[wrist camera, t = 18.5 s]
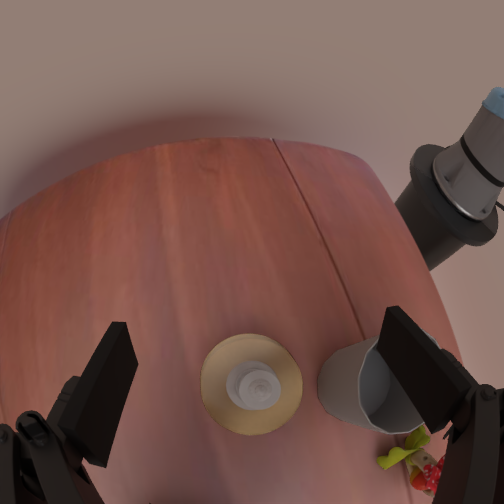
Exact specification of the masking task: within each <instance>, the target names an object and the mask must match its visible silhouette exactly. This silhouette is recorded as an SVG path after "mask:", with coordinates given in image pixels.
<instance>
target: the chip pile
mask: <svg viewBox="0 0 504 504" xmlns="http://www.w3.org/2000/svg"><path fill="white" fill-rule="evenodd" d="M246 361H259V362H262V363H264V364H267V365H268V366H269V367H270V368H272V370H273V371H274V372H275V373H276V376H277V378H278V380H279V383H280V385H281V393H280V397H279V399H278V400H277V402H276V403H275V404H274V405H272V406H271V407H269V408H266V409H261V410H246V409H243V408H241V407H238V406H237V405H236V404H235V403H233V401H232V400H231V399H230V397H229V395H228V393H227V389H226V382H227V377H228V375H229V373H230V372H231V370H232V369H233V368H234V367H235V366H237V365H238V364H240V363H243V362H246ZM200 390H201V397H202V401H203V403H204V406H205V408H206V410H207V412H208V413H209V414H210V416H211V417H212V418H213V419H214V420H215V421H216V422H217V423H218V424H220V425H221V426H222V427H224V428H226V429H228V430H230V431H232V432H235V433H238V434H244V435H260V434H265V433H268V432H271V431H274V430H276V429H277V428H279V427H281V426H282V425H284V424H285V423H286V422H287V421H288V420H289V419H290V418H291V417H292V416H293V415H294V413H295V412H296V410H297V408H298V406H299V404H300V401H301V398H302V393H303V380H302V375H301V372H300V369H299V367H298V365H297V363H296V362H295V360H294V359H293V358H292V356H291V355H290V353H289V352H288V351H287V350H286V349H285V348H284V347H283V346H282V345H281V344H280V343H278V342H277V341H275V340H273V339H271V338H269V337H267V336H263V335H259V334H249V333H248V334H239V335H235V336H232V337H229V338H227V339H225V340H223V341H222V342H220V343H219V344H218V345H216V346H215V347H214V348H213V349H212V350H211V351H210V353H209V354H208V356H207V357H206V359H205V361H204V363H203V366H202V369H201V374H200Z"/></svg>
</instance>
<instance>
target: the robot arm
mask: <svg viewBox="0 0 504 504" xmlns="http://www.w3.org/2000/svg"><path fill="white" fill-rule="evenodd" d="M446 148H447V149H446ZM446 148H445V150H444V151H442V152H441V153H439V154H438V155H437V156H436V157H435V159H434V160H433V162H432V164H431V174H432V178H433V180H434V183H435V185H436V187H437V189H438V190H439V192H440V193H441V195H442V196H443V198H444V199H445V200H446V202H447V203H448V204H449V205H450V206H451V207H452V208H453V209H454V210H455V211H456V212H457V213H458V214H460V215H461V216H462V217H464V218H465V219H467V220H469V221H472V222H482V221H483V220H484V219H485V218H486V217H488V215H489V214H490V213H491V211H492V209H493V207H494V205H497V206H498V207H499V208H501V209H502V210H503V211H504V206H503V205H502V204H500V203H499V202H497V201H496V200H497V198H498V196H499V194H500V191H501V189H502V188H503V187H504V88H501V87H495V88H493V89H492V90H491V92H490V93H489V95H488V97H487V98H486V99H485V100H484V101H483V102H482V107H481V108H480V110H479V111H478V113H477V114H476V116H475V117H474V119H473V121H472V122H471V123H470V125H469V127H468V128H467V129H466V131H465V132H464V134H463V135H462V137H461V138H460V140H459V141H458V142H456V143H455V144H453V145H451V146H448V147H446ZM376 349H377V351H378V352H379V354H380V355H381V356H382V358H383V359H384V361H385V362H386V364H387V365H388V367H389V368H390V370H391V371H392V373H393V374H394V376H395V377H396V379H397V380H398V382H399V383H400V385H401V386H402V388H403V389H404V391H405V392H406V394H407V396H408V397H409V399H410V400H411V402H412V403H413V405H414V407H415V408H416V410H417V411H418V413H419V414H420V416H421V418H422V419H423V421H424V422H425V424H426V426H427V427H428V429H429V431H430V432H431V434H433V433H435V432H437V431H440V430H442V429H444V428H445V426H446V425H447V424H448V422H449V421H450V420H451V422H452V423H453V425H452V426H451V427H450V429H449V430H448V431H447V432H446V434H445V435H444V437H443V439H445V438H446V437H447V436H448V435H449V438H448V444H447V449H446V454H445V459H444V463H443V467H442V471H441V475H440V479H439V483H438V486H437V490H436V493H435V496H434V499H433V502H432V504H504V388H503V389H497V390H496V389H495V388H494V387H492V386H491V385H488V384H482V385H479V384H478V383H477V381H476V380H475V379H474V378H473V377H472V376H471V375H470V373H469V372H468V371H467V370H466V369H465V368H464V367H462V364H461V363H460V362H459V361H457V359H456V358H455V357H454V356H453V355H452V354H451V353H450V352H448V351H447V350H445V349H443V348H442V349H439V348H438V346H437V345H436V344H435V343H434V342H433V341H432V340H431V339H430V338H429V337H428V336H427V335H426V334H425V333H424V331H423V330H422V329H421V328H420V327H419V326H418V325H417V324H416V323H415V322H414V321H413V320H412V319H411V318H410V317H409V316H408V315H407V314H406V313H405V312H404V311H403V310H402V309H401V308H400V307H399V306H391V307H387V308H386V312H385V316H384V320H383V324H382V328H381V332H380V336H379V339H378V343H377V346H376ZM137 367H138V361H137V358H136V355H135V352H134V349H133V345H132V342H131V339H130V335H129V332H128V328H127V325H126V322H112V323H111V324H110V326H109V328H108V329H107V331H106V333H105V334H104V336H103V338H102V339H101V341H100V343H99V345H98V346H97V348H96V350H95V352H94V353H93V355H92V357H91V359H90V361H89V362H88V364H87V366H86V368H85V370H84V371H83V373H82V375H81V377H78V376H73V377H72V378H70V379H69V380H68V381H67V382H66V383H65V385H64V387H63V388H62V390H61V393H60V394H59V396H58V399H57V400H56V401H55V403H54V405H53V407H52V409H51V411H50V413H49V415H48V417H47V419H46V421H45V419H44V418H43V417H42V415H41V414H39V413H38V412H37V411H32V410H31V411H26V412H24V413H22V414H21V415H20V416H19V417H18V419H17V421H16V429H17V430H18V432H19V433H18V432H14V431H13V430H12V428H11V427H10V426H8V425H7V424H0V504H105V503H104V502H103V500H102V498H101V497H100V495H99V493H98V492H97V490H96V488H95V486H94V484H93V483H92V481H91V479H90V477H89V475H88V473H87V471H86V469H85V467H84V466H83V464H82V460H83V457H84V458H85V459H86V460H87V461H88V462H89V464H93V465H96V466H100V467H104V468H106V466H107V462H108V459H109V455H110V451H111V448H112V444H113V441H114V437H115V434H116V431H117V427H118V424H119V421H120V418H121V414H122V411H123V408H124V405H125V402H126V399H127V396H128V393H129V390H130V387H131V384H132V381H133V378H134V375H135V373H136V370H137Z"/></svg>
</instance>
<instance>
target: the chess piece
mask: <svg viewBox="0 0 504 504" xmlns="http://www.w3.org/2000/svg"><path fill="white" fill-rule="evenodd" d="M226 389H227V393H228V395H229V397H230V399H231V400H232V401H233V403H235V404H236V405H237V406H238V407H241V408H243V409H246V410H261V409H266V408H269V407H271V406H272V405H274V404H275V403H276V402H277V400H278V399H279V397H280V393H281V385H280V383H279V380H278V378H277V376H276V373H275V372H274V371H273V370H272V368H270V367H269V366H268V365H267V364H264V363H262V362H259V361H246V362H243V363H240V364H238V365H237V366H235V367H234V368H233V369H232V370H231V372H230V373H229V375H228V377H227V382H226Z"/></svg>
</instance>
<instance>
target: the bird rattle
mask: <svg viewBox="0 0 504 504" xmlns="http://www.w3.org/2000/svg"><path fill="white" fill-rule="evenodd" d="M429 441H430V436H428V435H426V434H425V428H424V426H423V425H421V426H419V427H418V428H417V429H415V430H414V431H413V432H412V433H411V434H410V435H409V436H408V437H407V438H406V440H405V450H403V449H401V448H400V447H393V448H392V449H391V450H390V451H389V455H388V456H386V455H385V456H379V457H378V458H377V463H378V464H379V465H380V466H381V467H383V469H388V468H389V467H391V466H392V465H394V464H396V463H398V462H399V461H400V460H402V459H403V458H405V461H406V466H407V469H408V472H409V476H410V483H411V485H412V486H413V487H414V488H415V489H417V490H422V491H423V492H424V493H425V494H427V495H429V496H431V497H433V499H434V496H435V493H436V490H437V486H438V483H439V479H440V475H441V471H442V467H443V463H444V459H445V455H444V456H443V457H442V458H441V459H440V460H439V462H437V461H436V460H435V459H434V458H433V457H432V456H431V455H430V454H428V453H427V452H426V451H425V450H424V449H422V448H419V447H421V446H424V445H426V444H427V443H429Z"/></svg>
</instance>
